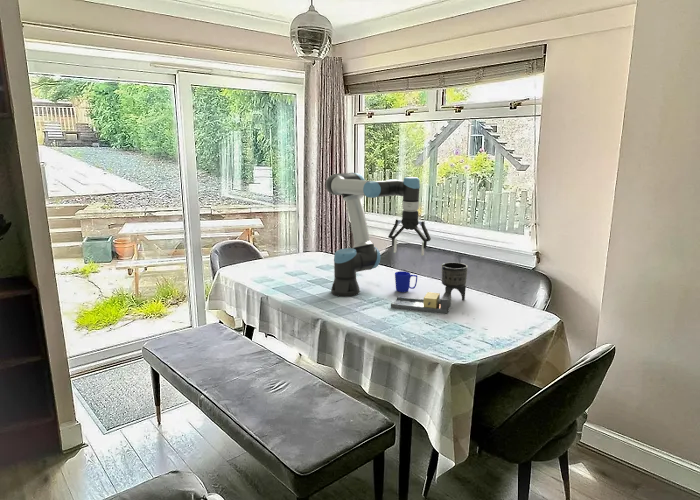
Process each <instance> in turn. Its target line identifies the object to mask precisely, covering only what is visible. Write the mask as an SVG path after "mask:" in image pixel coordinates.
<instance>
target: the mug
mask: <svg viewBox="0 0 700 500" xmlns="http://www.w3.org/2000/svg"><path fill="white" fill-rule="evenodd" d="M412 277H415V283H414V286H413V287H411V278H412ZM394 281H395V290H396V291H397V292H398V293H406V292H408V291H409V289H411V290H413V289H415V288H416V286H417V283H418V275H416V274H411V273H410V272H409V271H396V272H395V273H394Z"/></svg>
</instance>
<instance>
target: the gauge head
mask: <svg viewBox="0 0 700 500" xmlns="http://www.w3.org/2000/svg"><path fill="white" fill-rule="evenodd" d="M440 294H441V293H440V292H431V291H429V292H428V291H427V292H426V294H425V295H424V297H423V299H424V304H423V307H429V308H437V307H438V305H439V304H440V303H441V297H440V296H441V295H440Z"/></svg>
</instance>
